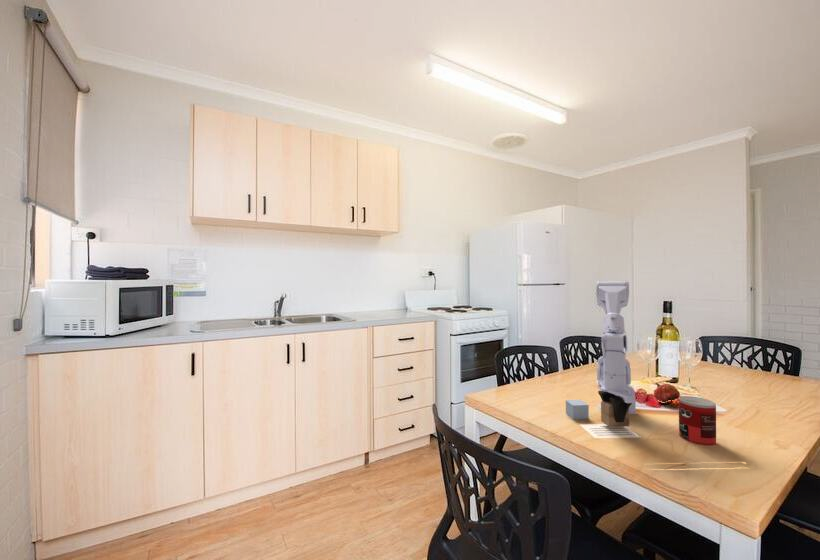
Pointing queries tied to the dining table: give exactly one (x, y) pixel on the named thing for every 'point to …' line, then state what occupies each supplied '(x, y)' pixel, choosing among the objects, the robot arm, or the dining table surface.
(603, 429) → the letter
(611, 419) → the walnut block
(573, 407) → the cube
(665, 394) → the pomegranate
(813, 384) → the dining table surface
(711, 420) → the canned food
